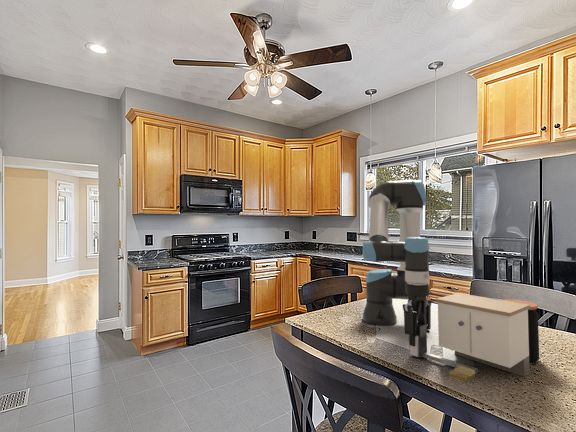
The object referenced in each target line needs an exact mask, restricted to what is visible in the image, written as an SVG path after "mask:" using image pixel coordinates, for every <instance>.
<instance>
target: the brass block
mask: <svg viewBox="0 0 576 432" xmlns="http://www.w3.org/2000/svg"><path fill="white" fill-rule="evenodd" d="M448 377H450V378H452V379H454V380H455V379H456V380H457V381H460V382H463V383H466V384H468V383H469V382H470V381H472V380H473V379H474V378H475V374H473V373H470V372H467V371H464V370H461V369H458V368H455V367H454V368H453V370H450V371H449V372H448Z"/></svg>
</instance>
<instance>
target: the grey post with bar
mask: <svg viewBox="0 0 576 432" xmlns="http://www.w3.org/2000/svg"><path fill="white" fill-rule="evenodd" d="M416 336H418V352H419V356H418V357H417V358H419V359H420V358H425V359H428V360H431V361H434V362H437V363H440V364H443V365H447V366H450V367H451V368H454V369H455V368H458V369H461V370H464V371H467V372H470V373H473V374H474V375H476V374H478V367H475V366H474V367H473V366H471V365H468V364H464V363H462V362H458V361H456V360H452V359H450V358H449V359H448V358H445V357H443V356H439V355H436V354H433V353H430V352H428V341H427V340H428V338H427V337H428V333H427V330H426V324H423V323H419V322H418V325H417V335H416ZM408 348H409V355H411V354H410V344H408Z"/></svg>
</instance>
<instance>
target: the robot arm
mask: <svg viewBox="0 0 576 432" xmlns="http://www.w3.org/2000/svg"><path fill="white" fill-rule="evenodd" d="M367 204H368V207H369V209H370V210H369V228H368V229H369V230H368V231H369V232H368V235H369V236H368V240H366V241H363V243H362V257H363V260H364V261H368V262H397V263H398V262H399V263H400V265H399V266H398V267H397V268H396V272H393V270H392V269H391V268H388V269H387V268H382V269H381V268H380V269H374V270H373V269H372V270H369V271H368V272H367V273H366V276H365V278H366V279H365V286H366V287H365V289H366V293H365V295H366V296H365V297H366V298H365V299H366V301H365V302H366V303H365V307H364V309H363V313H362V321H363V322H365V323H368V324H370V323H371V325H375V324H376V325H377V326H391V325H395V324H396V323H397V319H398V318H397V315H396V311H395V307H394V305H393V304H394V303H393V299H395V300H407V303H406V304H403V303H402V310H403V324H404V326H403V327H404V334H405V335H408V341H409V342H408V343H409V344H410V354H409V355H411V356H414V357H417V358H419V357H418V356H419V352H418V336H416V335H417V325H418V322H419V323H423V324H426V330H427V334H430V332H431V331H430V330H431V328H432V326H431V325H432V324H431V322H432V321H431V316H432V314H431V313H432V311H431V309H432V300H430V299H428V298H427V297H429V296H430V285H429V283H430V267H429V266H430V264H429V263H430V255H429V251H430V246H429V239H428V238H427V237H424V236H423V237H422V236H421V227H420V226H421V224H420V222H421V221H420V219H421V218H420V213H421V212H422V211H423V209H424V206H426V205H427V192H426V187H425V184H424V182H423V181H422V180H420V179H417V180H416V179H408V180H407V179H406V180H405V179H404V180H387V181H384V182H381V183H379V184H378V185H377V186H375V188H373V190H372V191H371V192H370V195H369V197H368V203H367ZM390 207H395V211H396V212H397V213H398V214H399V241H389V209H390ZM409 344H408V345H409Z"/></svg>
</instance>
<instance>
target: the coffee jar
mask: <svg viewBox="0 0 576 432" xmlns="http://www.w3.org/2000/svg"><path fill="white" fill-rule="evenodd" d="M503 300H504V301H510V302H516V303H522V304H528V305H530V309H528V335H529V365H532V364H536V363H538V361H539V359H540V341H539V339H540V338H539V335H540V334H539V313H538V311H537V309H538V308H539V307H538V306H539V305H538V304H537V303H534V302H531V301H526V300H521V299H520V300H519V299H508V298H507V299H505V298H504V299H503Z"/></svg>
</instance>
